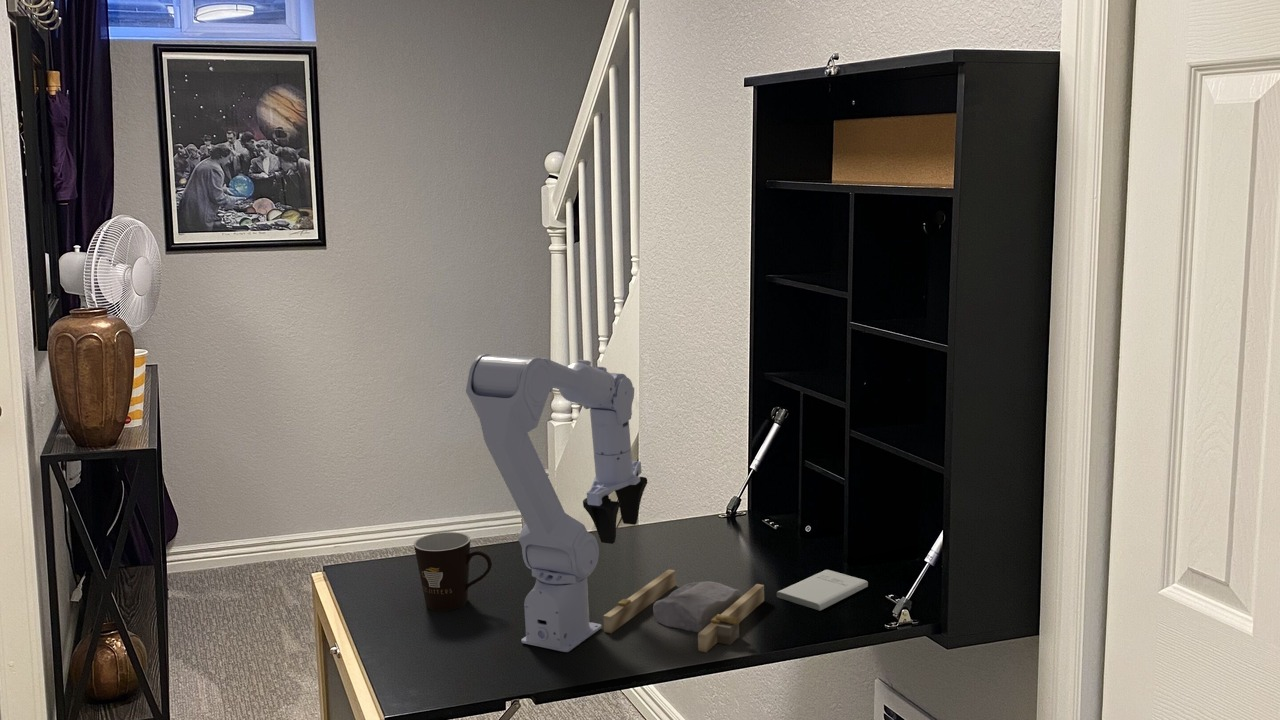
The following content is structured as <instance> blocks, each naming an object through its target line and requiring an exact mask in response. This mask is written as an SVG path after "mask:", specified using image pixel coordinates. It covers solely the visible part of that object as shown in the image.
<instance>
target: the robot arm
mask: <svg viewBox="0 0 1280 720" xmlns="http://www.w3.org/2000/svg"><path fill="white" fill-rule="evenodd" d="M591 364H592V362H591V361H590V360H587V359H578V360H577V362H573V363H570V364H568V365H567V366H566V365H564V364H562V363H559V362H556V361H553V360H552V359H550V358H547V357H535V356H520V355H519V356H518V355H498V354H497V355H492V354H489V353H482V354H479V355H478V356H477V357H475V358H474V360H473V362H472V363H471V365H470V368H469V371H468V375H467V382H466V383H467V384H466V386H465V387H466V389H465V393H466V395H467V397H468V399H469V400H470V403H471V404H472V406H473V409H474V411H475V412H476V413H475V414H477V417H478V418H479V422H480V427H481V430H482V435H483V440H484V442H485V444H486V447H487V449H488V451H489V453H490V455H491V457H492V459H493V461H494V463H495V465H496V467H497V469H498V471H499V473H500V475H501V477H502V478H503V481H504V482H505V485H506V488H507V489H508V490H509V492H510V495H511V496H512V498H513V500H514V503H515V505H516V507H517V509H518V510H519V512H520V515H521V517H522V519H523V520H524V522H525V523H524V525H523V527H522V528H521V530H520V533H519V536H518V541H519V544H520V546H521V553H522V560H523V562H524V565H525V566H526V567H527V568H528V570H531V577H533V578H535V584H534V586H533V587H532V589H531V590H530V591H529V592H528V593H527V595H526V597H525V598H524V603H523V606H524V608H523V609H524V622H525V625H524V626H525V636H524V637H523V638H521V641H520V642H521V643H522V644H526V645H530V646H534V647H540V648H544V649H548V650H553V651H558V652H563V653H569V652H570V651H572V650H573V649H574V648H577V646H579V645H580V644H582V642H584V641H586V639H588V638H590V637H591V636H592V635H594V634H595V633H597V632H598V631H599V630H601V629H602V626H603V625H602V624H601V623H596V622H590V609H589V606H590V605H589V588H588V577H589V576H590V575H591V574H592V573H593V572H594V570H596V567H597V566H598V565H597V564H598V562H599V558H600V557H599V555H600V547H599V544H598V541H597V538H596V537H595V535H594V534H592V533H590V532H589V531H588V530H587V528H586V526H585V524H584V523H582V522H581V521H579V520H578V519H576V518H574V517H572V516H571V515H569V514H567V513H566V512H565V510H564V507H563V506H562V504H561V501H560V499H559V497H558V495H557V493H556V491H555V489H554V487H553V484H552V482H551V480H550V478H549V476H548V474H547V471H546V470H545V468H544V467H545V466H544V465H543V463H542V461H541V459H540V456H539V454H538V452H537V450H536V449H535V447H534V446H535V445H534V444H533V442H532V440H531V438H530V435H529V433H530V432H532V431H533V430H535V429H536V428H538V425H539V423H540V419H541V418H542V417H541V416H542V415H543V412H544V408H545V406H546V403H547V400H548V397H549V394H550V393H551V392H553V389H557V390H559V393H560V394H561V396H562V398H563V399H565V400H566V401H568V402H571V403H574V404H579V405H581V406H582V407H583V408H584V410H588V409H589V415H590V425H591V437H592V449H593V460H594V461H593V462H594V472H595V477H594V479H593V482H592V484H591V487H590V489H589V490H588V491H586V498H584V499H583V500H582V506H583V508H584V509H585V511H586V512H587V514H588V515H589V517H590V518H591V520H592V522H593V525H594V527H595V529H596V531H597V534H598V537H599V539H600V542H601V543H603V544H610V545H613V544H615V542H616V537H617V519H618V513H620V516H621V517H620V518H621V520H622V523H623V524H624V525H633V526H635V525H637V524H638V517H639V514H640V513H639V511H640V508H641V507H640V505H641V501H642V497H643V495H644V491H645V490H646V486H647V484H648V478H647V477H645V476H639V475H641V474H642V462H641V461H636V460H633V458H632V457H633V456H632V444H631V443H632V442H631V432H630V430H631V429H630V420H631V419H632V415H633V410H632V407H633V402H634V398H635V387H634V386H633V382H632V380H631V379H630V378H629V377H627V375H626V374H625V373H617V372H609V371H608V369H607V368H606V367H604V366H596V367H595V366H591ZM613 492H615V494H616V497H617V501H615V500H612V499H611V498H609V497H610V495H611V494H612V493H613ZM619 511H620V512H619Z"/></svg>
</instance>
